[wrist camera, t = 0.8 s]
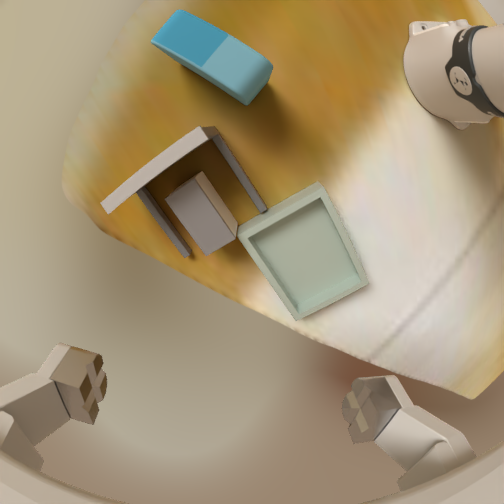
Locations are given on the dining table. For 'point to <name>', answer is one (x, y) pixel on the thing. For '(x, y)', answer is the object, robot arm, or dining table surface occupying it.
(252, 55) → the data package
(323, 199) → the tray
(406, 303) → the dining table surface
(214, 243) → the tall grey rectangular block
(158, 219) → the bay
